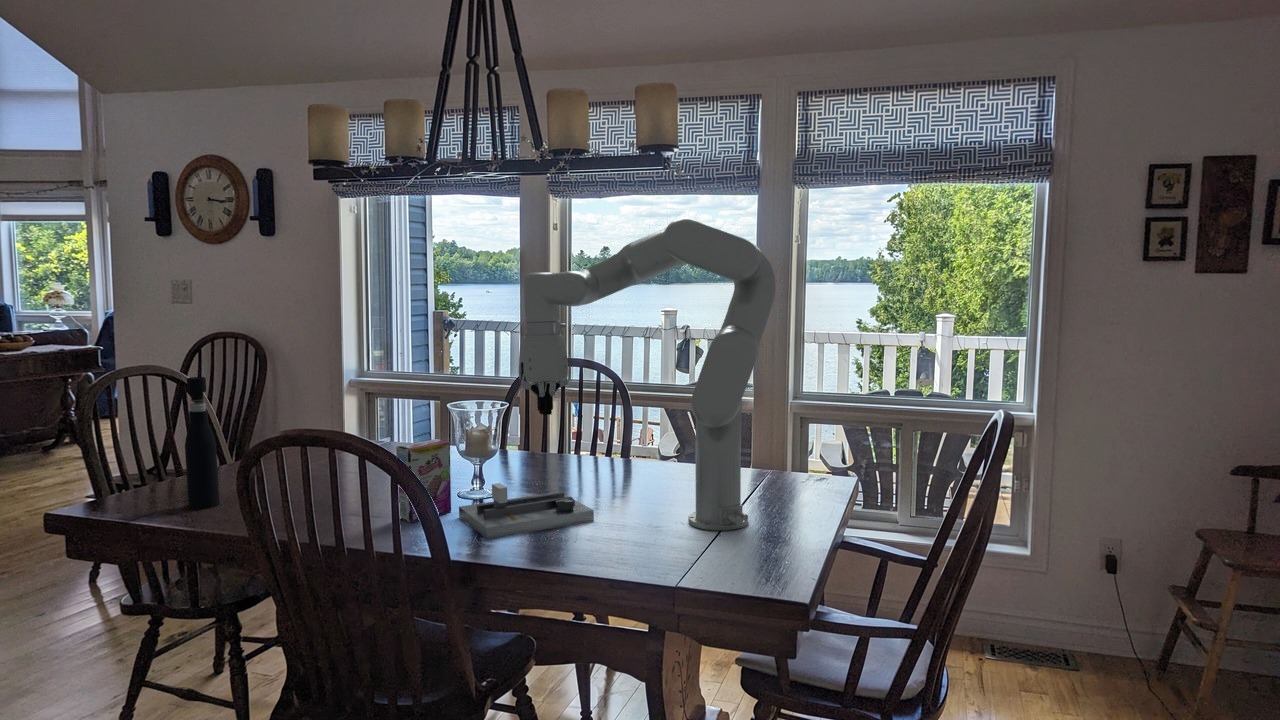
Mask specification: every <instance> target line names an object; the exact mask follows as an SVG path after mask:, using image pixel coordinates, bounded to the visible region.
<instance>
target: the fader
mask: <svg viewBox="0 0 1280 720" xmlns="http://www.w3.org/2000/svg"><path fill="white" fill-rule="evenodd" d="M491 499H492V500H493V502H494V508H498V507H505V506H506V502H508V500H507V499H508V486H505V485H504V484H502V483H501V482H498V483H492V484H491Z"/></svg>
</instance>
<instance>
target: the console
mask: <svg viewBox="0 0 1280 720" xmlns="http://www.w3.org/2000/svg"><path fill="white" fill-rule="evenodd" d="M507 500H508V502H506V506H505V507H498V508H494V501H488V502H482V503H476V504H469V505H462V506H458V514H459V515H458V517H459V518H460V519H461V520H462V521H463V522H465V524H467V525H468V526H470V527H471V528H472V529H473V530H474V531H476V533H477V532H478V533H479V534H480V535H481V536H482V537H484V539H486V540H491V539H497V538H502V537H507V536H509V537H510V536H515V535H520V534H527V533H532V532H538V531H543V530H549V529H550V530H551V529H554V528H561V527H566V526H573V525H578V524H585V523H591V522H594V521H595V513H594V512H595V511H594V509H592V508H591V507H589V506H587V505H585V504H583V503H581V502H579V501H577V500H575V498H573V497H572V496H570V495H569V496H568V495H566V494H565V492H563V491H561V492H560V491H555V492H549V493H543V494H534V495H528V496H522V497H515V498H509V499H508V498H507Z"/></svg>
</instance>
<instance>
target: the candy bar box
mask: <svg viewBox="0 0 1280 720" xmlns="http://www.w3.org/2000/svg"><path fill="white" fill-rule="evenodd" d="M397 457H398V458H399V459H401V460H402V461H403V462H404V463H405V464H406V465H407V466H408V467H409V468H410V469H411V470H412V471H413V472H414V473H415V475H416V476H417V477H418V478H419V479H420V481H421V482H422V483H423V485H424V486H425V488H426V489H427V491H428V492H429V494H430V496H431V497H432V499H433V501H434V503H435V505H436V507H437V509H438V512H439V515H438V516H441V515H445V514H449V513H451V512H452V490H451V489H452V487H451V485H452V484H451V481H452V480H451V441H448V440H445V439H439V438H436V439H435V438H434V439H429V440H424V441H418V442H412V443H411V442H410V443H407V444H400V445H396V458H397ZM399 503H400V516H401V520H400V521H403V522H407V523H414V522H418V521H420V520H418V517H417V515H416V513H415V511H414V509H413V507H412V505H411V503H410V501H409V499H408V498H407V496H406V494H405V493H404V491H403V490H402V489H401V488H400V487H399Z"/></svg>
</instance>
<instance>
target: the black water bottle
mask: <svg viewBox="0 0 1280 720" xmlns="http://www.w3.org/2000/svg"><path fill="white" fill-rule="evenodd" d="M186 389H187V393H188V394H190V398H191V399H190V402H192V403H190V405H189V407H190V408H189V410H190V411H189V412H188V413H189V415H188V418H189V424H188V428H187V431H186V436H185V443H184V453H185V468H186V469H185V470H186V482H187V483H186V484H187V497H188V507H189V509H192V510H204V509H203V508H205V509H211V508H215V507H218V506H219V505H220V490H219V488H220V487H219V474H218V473H219V471H218V457H217V456H218V454H217V443H216V442H217V441H216V439H215V436H214V432H213V429H212V428H211V425H210V423H209V415H208V410H207V407H206V406H207V404H206V402H204V400H205V399H204V398H205V397H204V393H205V392H207V380H206V377H205V376H194V377H187V378H186ZM214 506H215V507H214ZM210 507H211V508H210Z"/></svg>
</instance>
